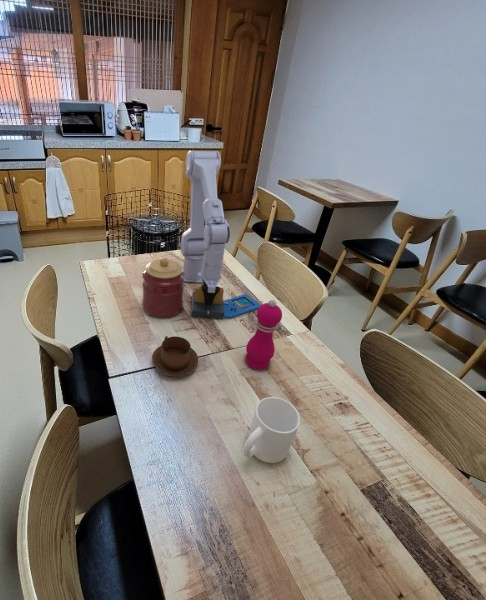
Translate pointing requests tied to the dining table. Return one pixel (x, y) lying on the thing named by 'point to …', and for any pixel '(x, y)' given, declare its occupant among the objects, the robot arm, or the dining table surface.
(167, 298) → the kitchen canister
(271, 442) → the mug
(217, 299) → the tan rectangular block
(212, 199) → the robot arm
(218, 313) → the frame stand
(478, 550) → the dining table surface
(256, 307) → the handheld gaming device
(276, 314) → the pepper mill
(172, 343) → the cup and saucer
